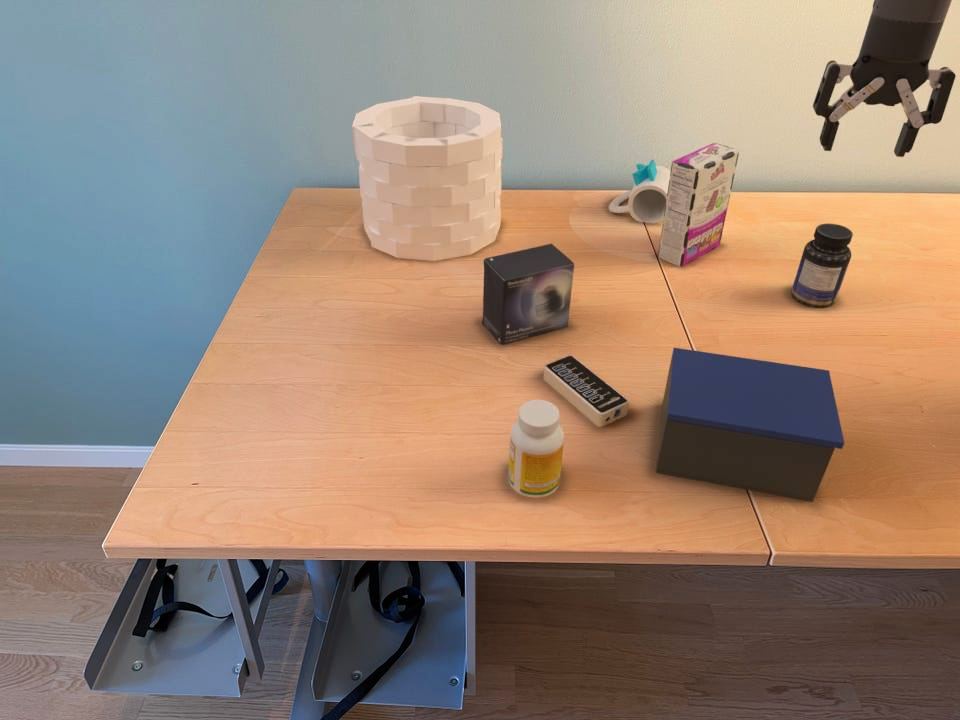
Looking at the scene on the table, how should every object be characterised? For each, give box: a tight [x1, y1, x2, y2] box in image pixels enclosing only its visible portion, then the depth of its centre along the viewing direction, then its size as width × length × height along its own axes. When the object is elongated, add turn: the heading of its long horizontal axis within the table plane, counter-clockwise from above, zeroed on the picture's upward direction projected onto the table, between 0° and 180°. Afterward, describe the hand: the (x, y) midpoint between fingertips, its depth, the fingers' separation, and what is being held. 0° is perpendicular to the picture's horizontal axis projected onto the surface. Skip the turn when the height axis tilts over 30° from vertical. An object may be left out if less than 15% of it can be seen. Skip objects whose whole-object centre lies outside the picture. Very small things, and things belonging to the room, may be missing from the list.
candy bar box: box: [657, 142, 740, 268], centre depth 109 cm, size 11×5×16 cm, turn 132°
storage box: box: [655, 357, 836, 503], centre depth 74 cm, size 16×12×8 cm
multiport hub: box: [543, 354, 630, 428], centre depth 83 cm, size 4×11×2 cm, turn 33°
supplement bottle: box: [508, 399, 565, 499], centre depth 70 cm, size 5×5×10 cm
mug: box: [608, 159, 671, 225], centre depth 125 cm, size 12×9×12 cm
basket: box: [351, 95, 504, 262], centre depth 115 cm, size 25×24×19 cm
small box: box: [481, 243, 575, 346], centre depth 93 cm, size 11×6×10 cm, turn 115°
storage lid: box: [667, 347, 845, 450], centre depth 72 cm, size 16×12×1 cm
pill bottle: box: [790, 222, 854, 309], centre depth 99 cm, size 6×6×11 cm
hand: (862, 152), depth 89 cm, fingers open, 8 cm apart
